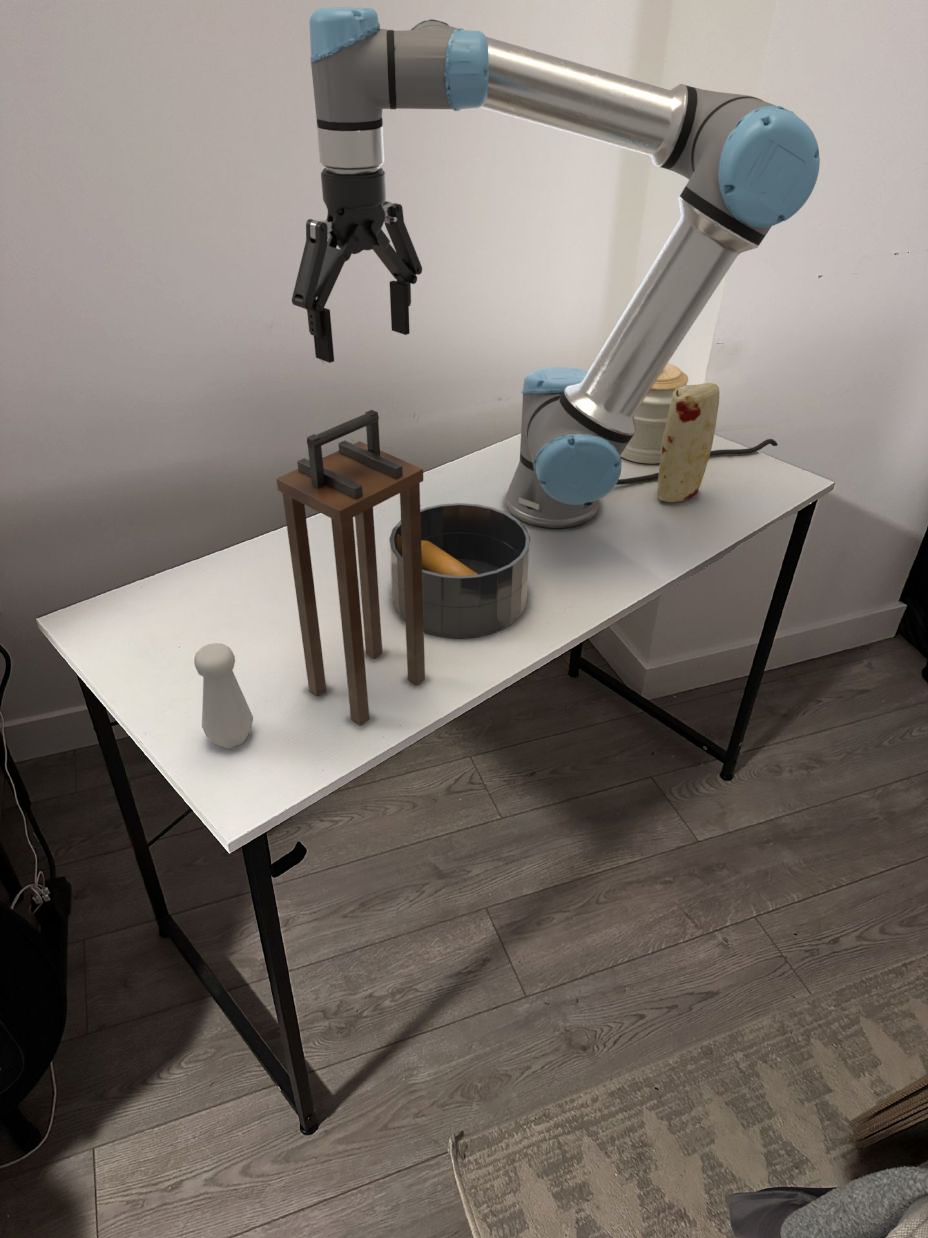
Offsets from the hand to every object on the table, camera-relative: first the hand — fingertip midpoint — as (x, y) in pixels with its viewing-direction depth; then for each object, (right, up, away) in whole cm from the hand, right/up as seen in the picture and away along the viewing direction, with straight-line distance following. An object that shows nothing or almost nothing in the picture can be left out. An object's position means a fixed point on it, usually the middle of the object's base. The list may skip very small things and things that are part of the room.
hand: (364, 345), depth 116 cm
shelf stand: (+1, -44, -4) cm, 45 cm away
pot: (+13, -33, +11) cm, 37 cm away
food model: (+50, -15, +35) cm, 62 cm away
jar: (+47, -4, +49) cm, 68 cm away
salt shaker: (-14, -50, -12) cm, 54 cm away
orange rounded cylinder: (+11, -31, +11) cm, 35 cm away
